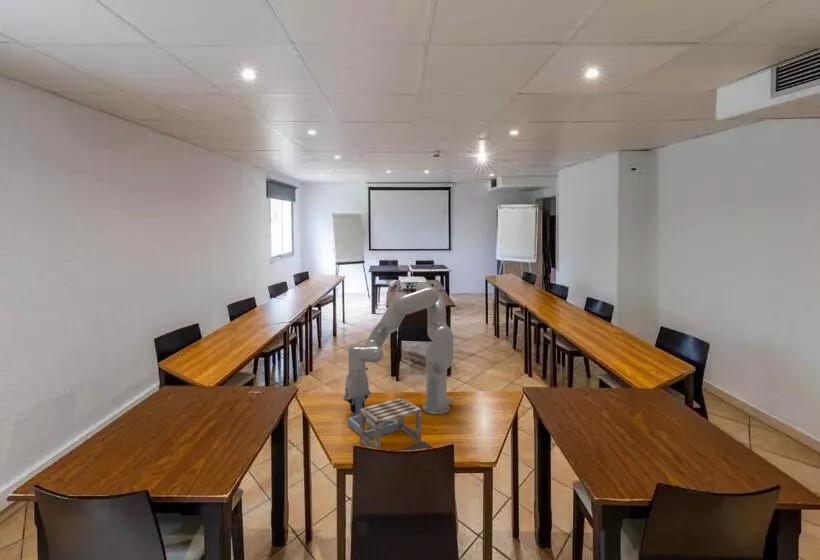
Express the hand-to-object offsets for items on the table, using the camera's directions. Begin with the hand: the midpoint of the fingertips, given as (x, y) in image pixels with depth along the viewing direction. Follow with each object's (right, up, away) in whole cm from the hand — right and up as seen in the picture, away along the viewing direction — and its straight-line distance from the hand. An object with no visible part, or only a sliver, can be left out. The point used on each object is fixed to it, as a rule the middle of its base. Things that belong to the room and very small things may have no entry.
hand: (357, 410), depth 192 cm
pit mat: (+26, -6, -29) cm, 39 cm away
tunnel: (+16, -5, -23) cm, 28 cm away
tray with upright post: (+6, -3, -8) cm, 11 cm away
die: (+10, -4, -13) cm, 17 cm away
